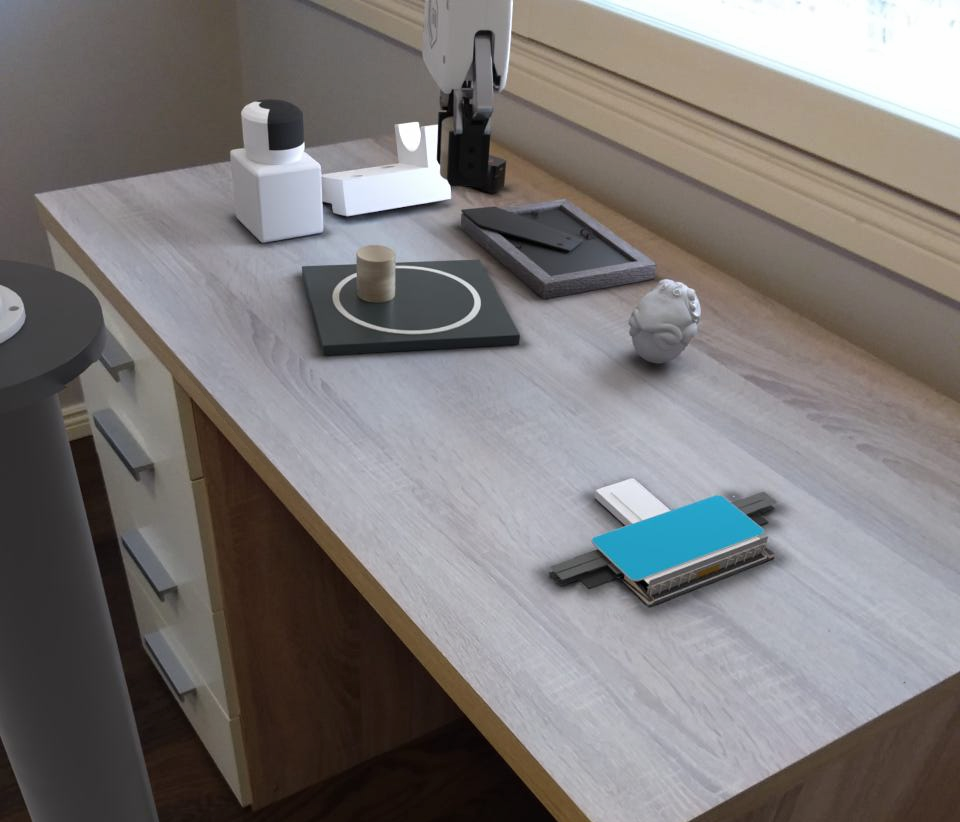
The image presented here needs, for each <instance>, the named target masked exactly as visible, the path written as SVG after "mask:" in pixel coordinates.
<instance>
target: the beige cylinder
mask: <svg viewBox="0 0 960 822" xmlns="http://www.w3.org/2000/svg"><path fill="white" fill-rule="evenodd" d="M449 131H453V117H448V118H446V119H444V120H443V121H442V132H441V156H440V175H441V177H442V178H444V179H446V180H447V164H448V143H449Z"/></svg>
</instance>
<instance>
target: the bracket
mask: <svg viewBox="0 0 960 822" xmlns="http://www.w3.org/2000/svg"><path fill="white" fill-rule="evenodd" d="M394 132H395V133H394V135H395V144H396V154H397V163H392V164H383V165H378V166H370V167H364V168H355V169H350V170H343V171H336V172H330V173H323V174H322V173H321V181H322V203H326V204H331V207H332V208H331V209H332V213H333V214H336V215H340V216H345V217H350V216H357V215H363V214H368V213H375V212H379V211H381V212H382V211H387V210H393V209H398V208H403V207H404V208H406V207H411V206H416V205H422V204H423V205H424V204H429V203H434V202H441V201H446V200H452V189H451V185H449V183H448V181H447V180H446V179H444V178H442V177H441V175H440V165H439V163H438V161H437V136H438V123H437V124H430V125H423V126H420V122H419V121H412V122H404V123H395V124H394Z"/></svg>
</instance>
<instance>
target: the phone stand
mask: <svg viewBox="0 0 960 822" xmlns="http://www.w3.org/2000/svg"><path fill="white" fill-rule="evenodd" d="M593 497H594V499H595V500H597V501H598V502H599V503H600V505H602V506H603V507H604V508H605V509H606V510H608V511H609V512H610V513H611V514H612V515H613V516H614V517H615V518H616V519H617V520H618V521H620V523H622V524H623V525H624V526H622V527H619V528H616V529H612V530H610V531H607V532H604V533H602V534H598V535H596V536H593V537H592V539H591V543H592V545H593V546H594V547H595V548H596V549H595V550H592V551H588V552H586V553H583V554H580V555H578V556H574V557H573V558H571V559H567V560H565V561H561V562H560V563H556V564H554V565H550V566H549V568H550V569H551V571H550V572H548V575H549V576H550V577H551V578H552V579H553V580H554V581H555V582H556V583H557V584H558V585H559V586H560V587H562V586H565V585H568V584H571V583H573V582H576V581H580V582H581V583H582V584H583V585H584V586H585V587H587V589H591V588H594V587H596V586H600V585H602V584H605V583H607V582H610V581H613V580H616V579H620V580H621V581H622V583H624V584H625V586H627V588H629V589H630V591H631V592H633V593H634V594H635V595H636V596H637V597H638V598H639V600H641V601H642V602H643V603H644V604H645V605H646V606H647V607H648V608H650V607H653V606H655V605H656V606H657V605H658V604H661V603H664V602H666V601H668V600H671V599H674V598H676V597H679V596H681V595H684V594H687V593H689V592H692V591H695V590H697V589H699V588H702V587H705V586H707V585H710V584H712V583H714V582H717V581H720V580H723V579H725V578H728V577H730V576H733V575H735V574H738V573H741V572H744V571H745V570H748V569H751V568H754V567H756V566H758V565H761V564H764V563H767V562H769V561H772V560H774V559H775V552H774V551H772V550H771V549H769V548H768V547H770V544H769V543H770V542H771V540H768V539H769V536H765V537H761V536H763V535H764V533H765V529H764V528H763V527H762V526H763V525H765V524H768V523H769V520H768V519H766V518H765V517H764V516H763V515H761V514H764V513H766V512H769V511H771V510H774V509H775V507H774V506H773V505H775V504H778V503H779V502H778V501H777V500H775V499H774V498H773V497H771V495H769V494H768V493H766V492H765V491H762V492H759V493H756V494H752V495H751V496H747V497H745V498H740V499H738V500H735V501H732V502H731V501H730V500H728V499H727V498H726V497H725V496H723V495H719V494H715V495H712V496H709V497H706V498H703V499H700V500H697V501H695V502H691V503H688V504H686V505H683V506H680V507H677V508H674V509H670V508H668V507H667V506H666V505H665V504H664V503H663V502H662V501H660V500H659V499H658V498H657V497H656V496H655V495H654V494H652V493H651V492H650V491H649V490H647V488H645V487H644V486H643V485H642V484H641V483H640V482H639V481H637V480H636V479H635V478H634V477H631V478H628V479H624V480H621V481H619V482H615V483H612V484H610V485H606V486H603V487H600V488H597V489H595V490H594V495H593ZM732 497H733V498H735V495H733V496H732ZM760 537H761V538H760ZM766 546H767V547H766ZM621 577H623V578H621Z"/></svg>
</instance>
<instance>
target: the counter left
mask: <svg viewBox="0 0 960 822" xmlns="http://www.w3.org/2000/svg"><path fill="white" fill-rule="evenodd" d="M396 256H397V255H396V252H395V251H394V250H393V249H392V248H391V247H388V246H385V245H378V244H370V245H369V244H368V245H364V246H361V247H359V248H358V249H357V250H356V258H355V259H356V260H355V261H356V264H357V295H358V297H359V298H361V299H362V300H364V301H368V302H373V303H382V302H387V301H390V300H392V299H393V298H394V297H395V265H396V263H397V262H396V260H397V257H396Z"/></svg>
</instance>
